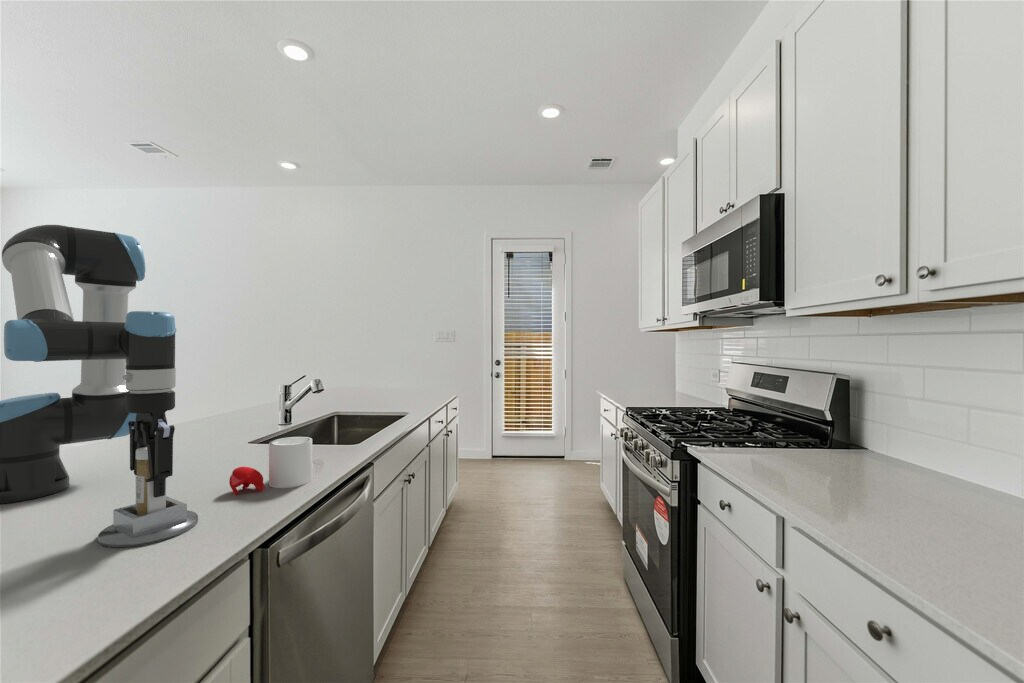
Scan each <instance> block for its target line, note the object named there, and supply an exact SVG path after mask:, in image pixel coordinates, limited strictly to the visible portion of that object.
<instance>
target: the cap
mask: <svg viewBox="0 0 1024 683" xmlns="http://www.w3.org/2000/svg"><path fill="white" fill-rule="evenodd" d="M228 482H229V487H230V489H231V490H232V492H233V493H234V495H235V496H237V495H239V493H240V492H239V490H238V489H237V488H238V487H240V486H242V487H241V489H242V490H245V489H247V488H249V487H250V485H253V486H254V487H255V488H256V489H257V490H258V491H259V492H263V491H264V489H265V485H264V477H263V474H262V473H261V472H260V471H258V470H257V469H256V468H252V467H249V466H240V467H239V466H238V467H236V468H234V469H233V471H232V473H231V475H230V477H229V480H228Z"/></svg>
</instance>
